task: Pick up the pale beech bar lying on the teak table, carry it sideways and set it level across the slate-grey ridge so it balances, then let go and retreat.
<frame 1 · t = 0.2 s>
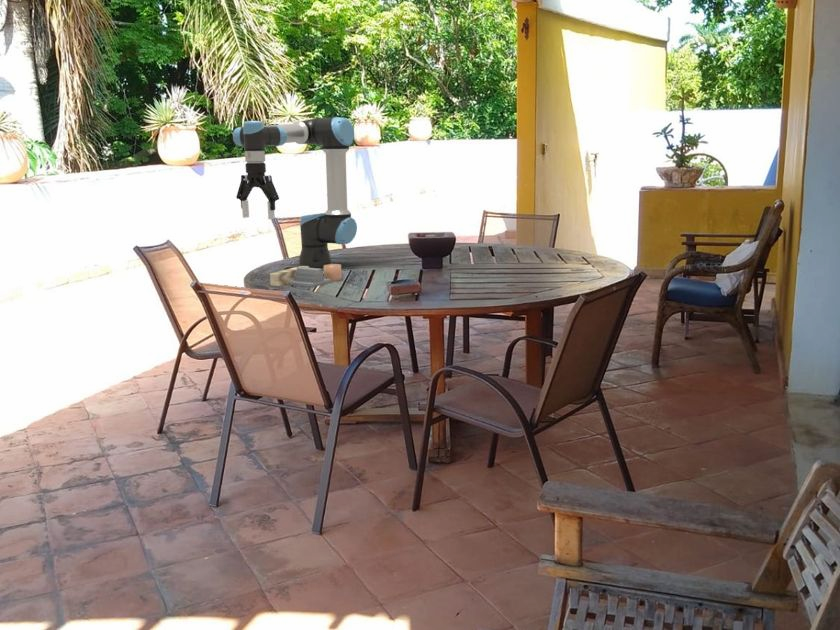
hand: (258, 218, 313), 26 cm above the table, fingers open, 13 cm apart
orange-brown rounded piece: (332, 279, 328), on the table
bar: (290, 282, 326), on the table
fulcrum: (309, 283, 320), on the table
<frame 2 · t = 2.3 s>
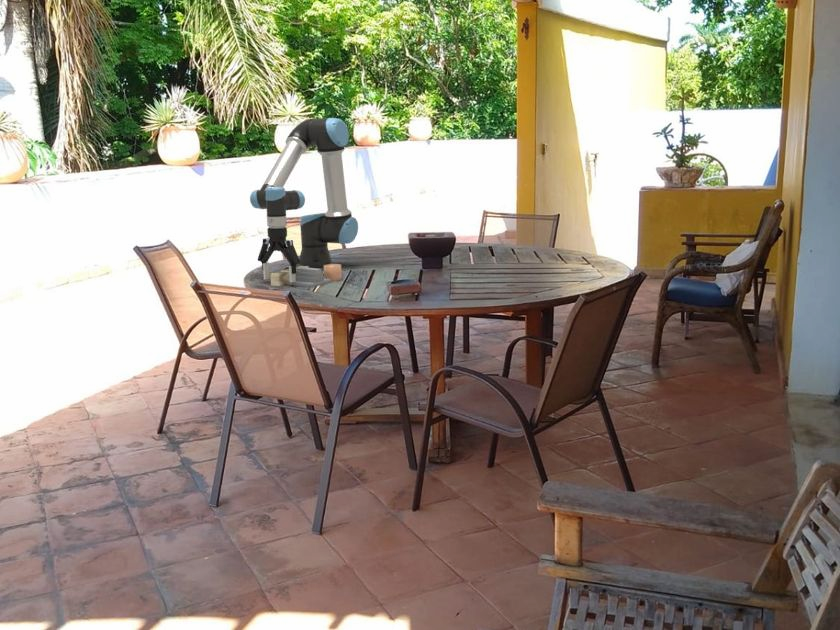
hand: (279, 280, 320), 1 cm above the table, fingers open, 13 cm apart
nothing on the table moved.
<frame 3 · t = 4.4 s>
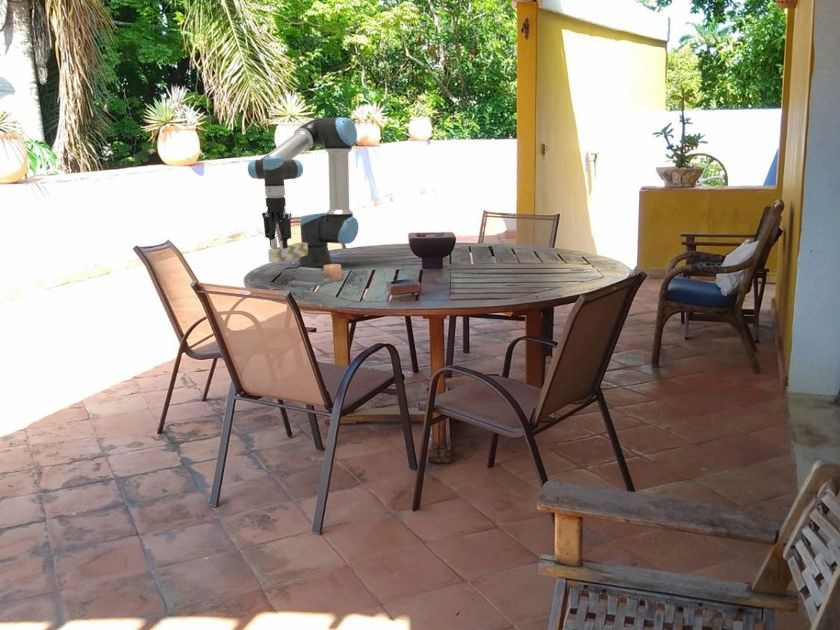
hand: (279, 256, 319), 11 cm above the table, fingers closed on bar, 4 cm apart
bar: (289, 258, 324), point 9 cm above the table, touching gripper
everything else where it was.
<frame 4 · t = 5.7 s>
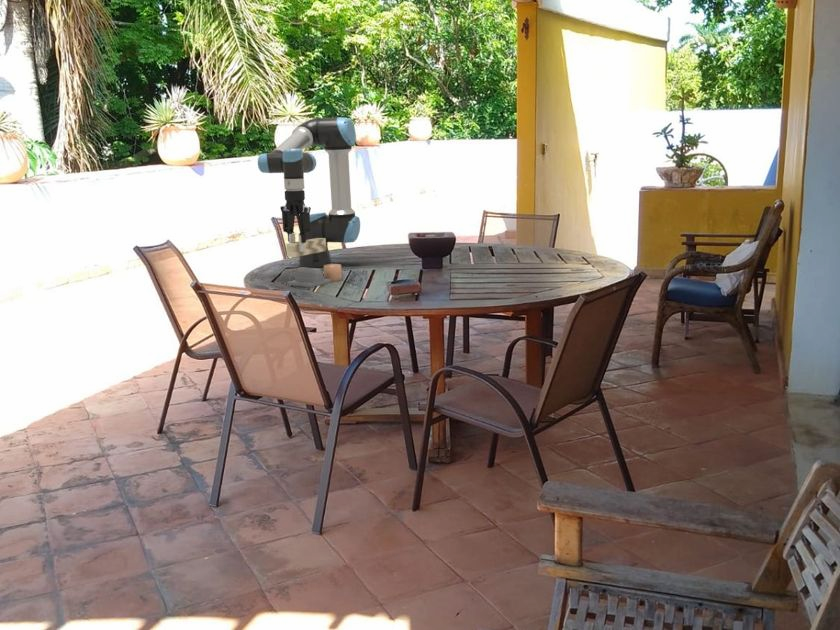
hand: (297, 250, 312), 14 cm above the table, fingers closed on bar, 4 cm apart
bar: (307, 253, 318), point 12 cm above the table, touching gripper
everything else where it was.
when the fingers open (5 cm above the table, at t = 7.4 s): bar stays where it is, resting on fulcrum.
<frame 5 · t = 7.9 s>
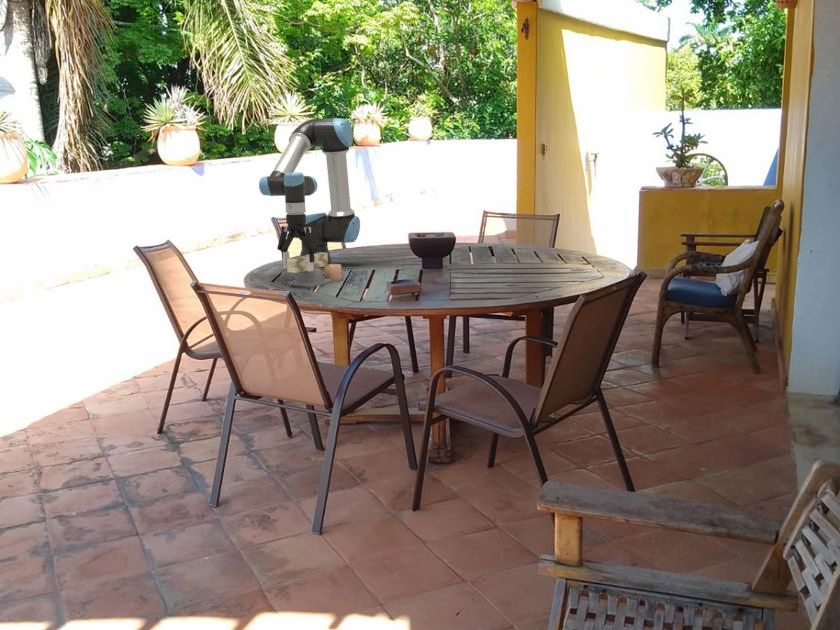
hand: (298, 269, 314), 6 cm above the table, fingers open, 11 cm apart
bar: (308, 268, 319), point 6 cm above the table, touching fulcrum
everything else where it was.
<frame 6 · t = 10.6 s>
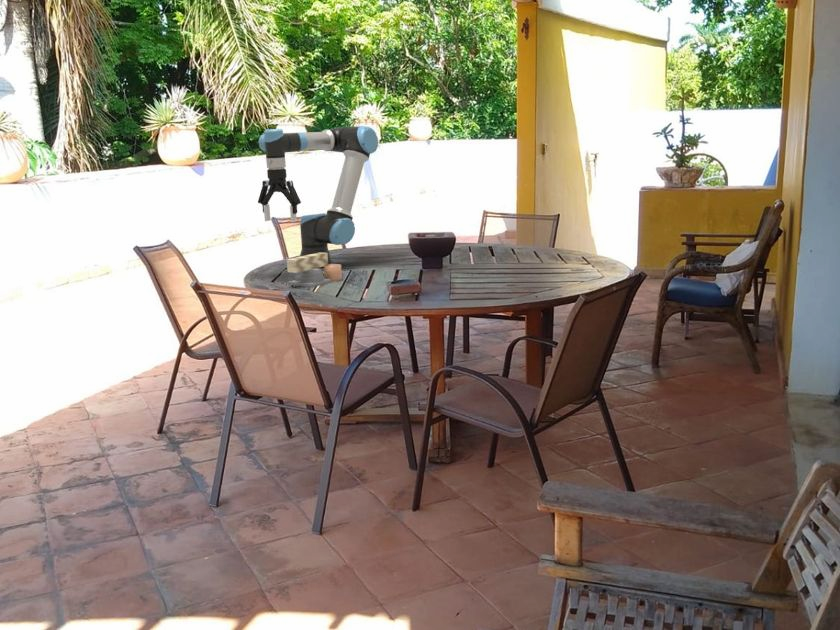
hand: (280, 221, 329), 23 cm above the table, fingers open, 13 cm apart
nothing on the table moved.
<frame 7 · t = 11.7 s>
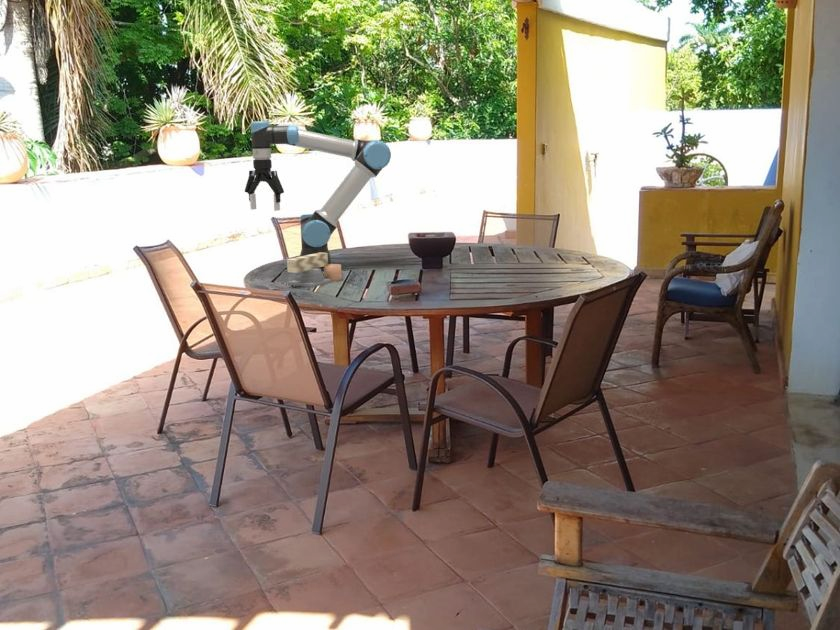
hand: (265, 209, 343), 27 cm above the table, fingers open, 13 cm apart
nothing on the table moved.
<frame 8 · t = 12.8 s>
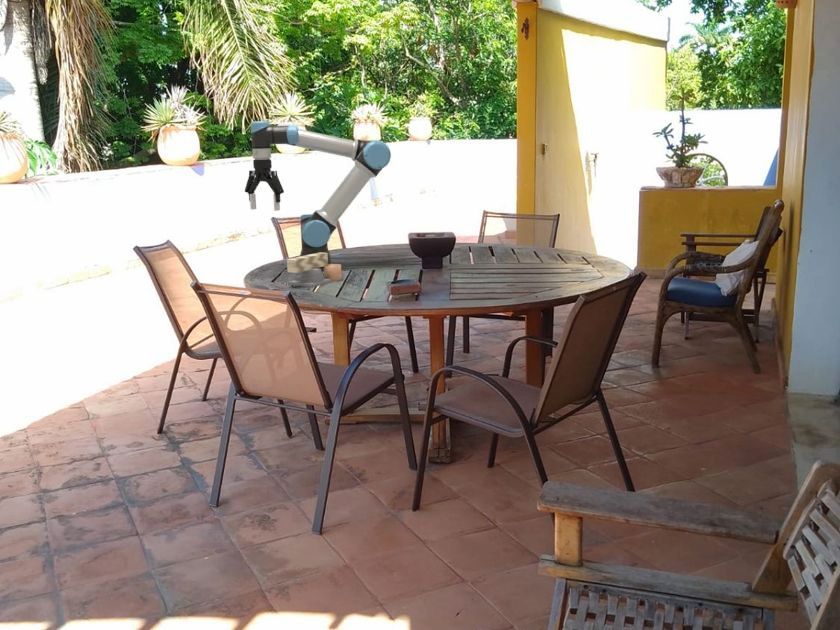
hand: (265, 209, 343), 27 cm above the table, fingers open, 13 cm apart
nothing on the table moved.
at the end: bar 0.2 cm off-centre on the fulcrum, point 6.0 cm above the fulcrum's base; bar tilted 0°; bar touching fulcrum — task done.
